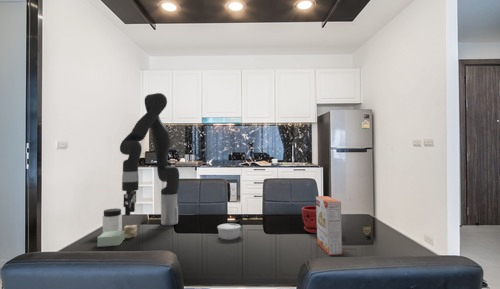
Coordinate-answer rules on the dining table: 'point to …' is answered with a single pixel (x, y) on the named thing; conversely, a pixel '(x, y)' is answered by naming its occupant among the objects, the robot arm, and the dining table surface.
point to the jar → (112, 220)
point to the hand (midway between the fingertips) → (130, 213)
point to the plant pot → (312, 221)
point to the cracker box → (329, 225)
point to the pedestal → (111, 238)
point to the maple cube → (130, 231)
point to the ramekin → (229, 231)
